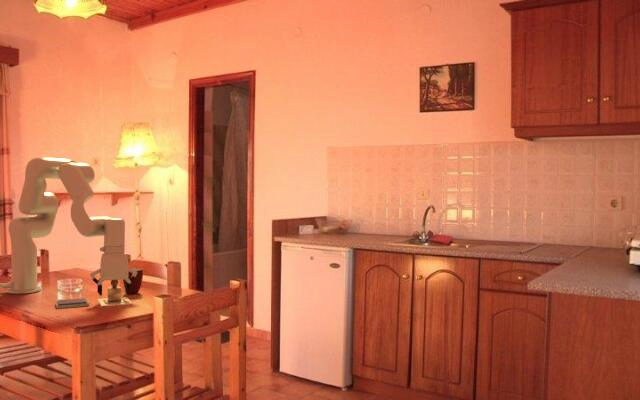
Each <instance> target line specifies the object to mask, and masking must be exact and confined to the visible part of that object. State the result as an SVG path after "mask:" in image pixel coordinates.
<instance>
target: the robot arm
mask: <svg viewBox="0 0 640 400" xmlns="http://www.w3.org/2000/svg"><path fill="white" fill-rule="evenodd" d="M46 179H54V180H60V181H61V183H62V185H63V187H64V188H65V190H66V192H67V194H68V196H69V197H70V199H71V202H72V203H71V205H70V218H71V221H72V224H73V225H74V227H75V228H76V230H77V232H79V234H80V235H81V236H83V237H85V238H93V237H102V236H103V246H102V247H99V251H100V252H103V253H101V258H100V263H99V264H100V265H99V269H96V270H95V271H92V272H91V273H89V276H90V277H91V279H92V281H93V282H94V283H95V284H96V286H97V287H96V288H97V294H99V296H100V297H101V296H103V282H105V281H112V280H118V281H120V280H122V281H123V279H125V280H126V283H125V287H124V293H125V294H127V295H129V294H128V291H130V283H131V282H132V281H133V280H134V279H135V277H136V275H137V271H135V270H133V269H130V267H129V260H128V254H127V252H125V248H126V247H125V244H126V241H125V240H126V239H125V237H126V236H125V235H126V234H125V233H126V232H125V231H126V221H125V219H123V218H119V217H109V216H89V215H88V213H87V212H86V209H85V204H86V203H87V202H88V201H90V200H91V199H92V198H93V196H94V190H93V188H92V187H91V185H90V184H91V183H92V182H93V181H94V180H95V171H94V168H93V167H92V165H90V164H88V163H85V162H82V161H81V162H80V161H77V160H73V159H69V158H60V157H59V158H57V157H35V158H34V157H33V158H31V159H30V160H29V161H28V162H27V164H26V167H25V171H24V182H23V185H22V186H23V187H22V189H21V193H20V198H19V201H18V210H19V212H20V213H21V214H22V215H26V216H17V217H14V218H12V219H11V221H10V222H9V224H8V234H9V237H10V238H9V239H10V247H11V248H10V249H11V250H10V251H11V254H10V255H11V280H10V281H8V282H5V283H3V282H2V283H1V282H0V289H6V288H7V293H8V294H14V295H20V294H21V295H22V294H32V293H37V292H41V291H42V287H41V286H40V285H39V286H38V249H37V248H38V247H37V246H36V243H35V242H34V240H33V239H39V238H40V239H41V238H45V237H48V236H49V235H50V234H51V233H52V231H53V228H54V224H55V221H56V217H57V213H58V210H59V200H58V198H57V195H56V194H54V193H53V192H49V191H46V190H47V187H48V186H47V185H48V183H47V180H46ZM128 271H129V272H131V273H133V274H132V276H131V277H130V278H129V279H128ZM97 275H99V277H100V278H99V279H97V278H96V276H97Z"/></svg>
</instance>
